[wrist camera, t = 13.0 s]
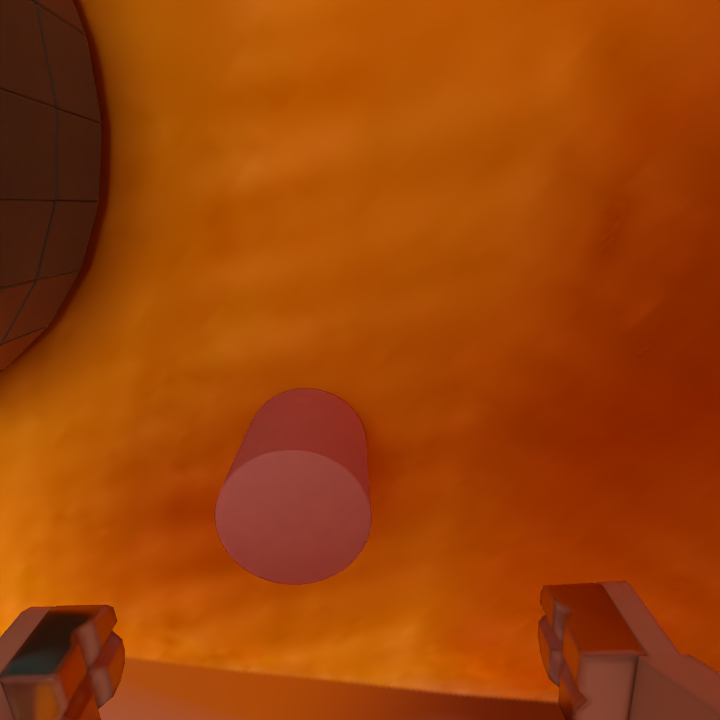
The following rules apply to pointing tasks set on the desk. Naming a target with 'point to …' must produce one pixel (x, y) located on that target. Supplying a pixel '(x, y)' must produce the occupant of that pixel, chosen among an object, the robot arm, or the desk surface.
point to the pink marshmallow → (297, 490)
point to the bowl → (43, 164)
